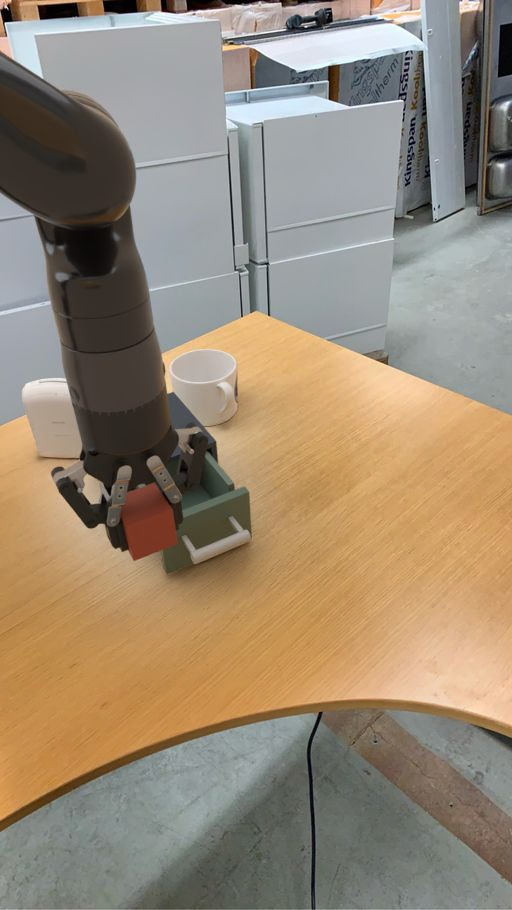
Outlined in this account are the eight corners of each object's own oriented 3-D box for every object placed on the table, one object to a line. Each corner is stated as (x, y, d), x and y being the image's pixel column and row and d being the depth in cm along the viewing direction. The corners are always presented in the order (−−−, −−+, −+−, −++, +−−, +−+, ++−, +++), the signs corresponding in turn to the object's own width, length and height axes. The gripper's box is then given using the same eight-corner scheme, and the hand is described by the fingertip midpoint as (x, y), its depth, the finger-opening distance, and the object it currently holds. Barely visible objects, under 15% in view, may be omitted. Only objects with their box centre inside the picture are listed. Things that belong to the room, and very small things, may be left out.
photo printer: (35, 459, 96) (13, 388, 89) (45, 441, 100) (24, 371, 92) (103, 461, 95) (86, 389, 88) (111, 443, 99) (95, 373, 91)
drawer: (269, 560, 78) (267, 512, 73) (181, 599, 74) (173, 551, 69) (208, 482, 89) (203, 437, 85) (129, 512, 85) (119, 466, 81)
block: (133, 561, 60) (126, 527, 57) (118, 532, 63) (110, 498, 60) (178, 543, 61) (172, 509, 59) (160, 516, 65) (154, 482, 62)
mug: (163, 405, 106) (156, 362, 101) (218, 384, 111) (215, 342, 106) (204, 445, 98) (199, 400, 93) (262, 421, 102) (261, 377, 97)
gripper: (181, 339, 57) (199, 488, 67) (15, 385, 52) (62, 538, 62) (219, 378, 51) (232, 533, 62) (38, 434, 46) (85, 592, 57)
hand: (147, 535), depth 62 cm, fingers closed on block, 4 cm apart
